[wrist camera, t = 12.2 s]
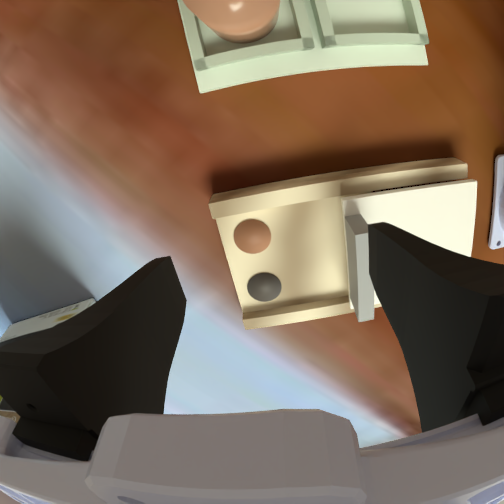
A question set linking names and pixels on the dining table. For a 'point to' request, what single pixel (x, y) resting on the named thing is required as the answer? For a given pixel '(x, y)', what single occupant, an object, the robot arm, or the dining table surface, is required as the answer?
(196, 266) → the dining table surface
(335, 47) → the socket board
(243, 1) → the peg
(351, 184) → the plate
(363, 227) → the lid
